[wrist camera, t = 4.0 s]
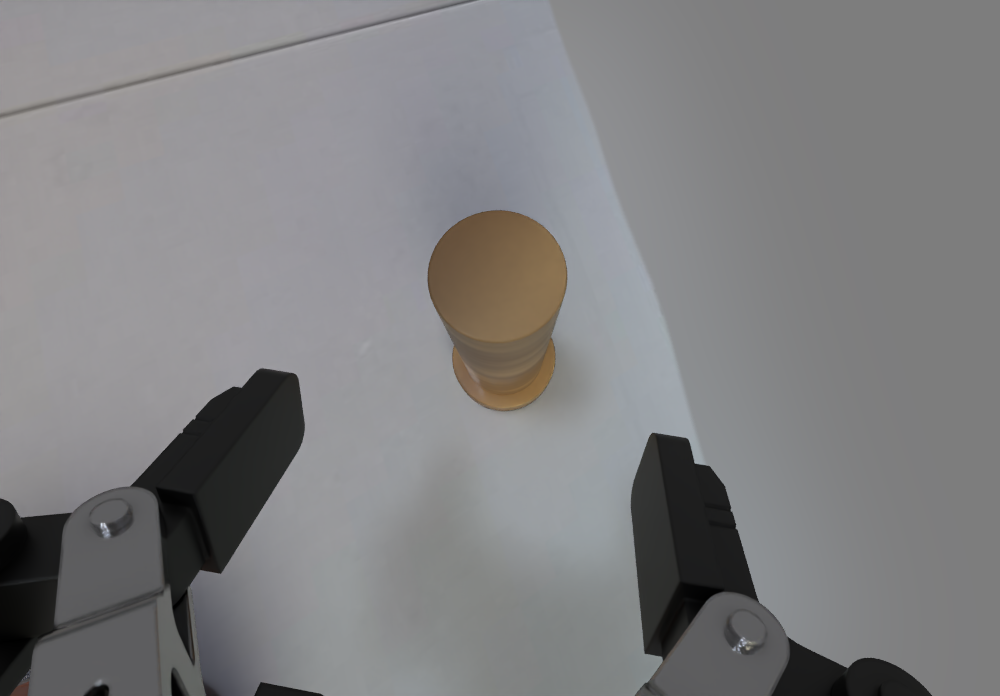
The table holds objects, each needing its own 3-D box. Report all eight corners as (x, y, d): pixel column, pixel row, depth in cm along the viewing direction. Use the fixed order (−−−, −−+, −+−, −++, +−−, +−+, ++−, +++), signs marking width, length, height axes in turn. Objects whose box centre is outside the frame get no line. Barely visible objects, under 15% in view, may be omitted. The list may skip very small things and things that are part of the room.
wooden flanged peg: (571, 348, 26) (626, 248, 14) (518, 430, 26) (525, 404, 13) (490, 297, 27) (471, 157, 14) (436, 376, 26) (366, 300, 14)
